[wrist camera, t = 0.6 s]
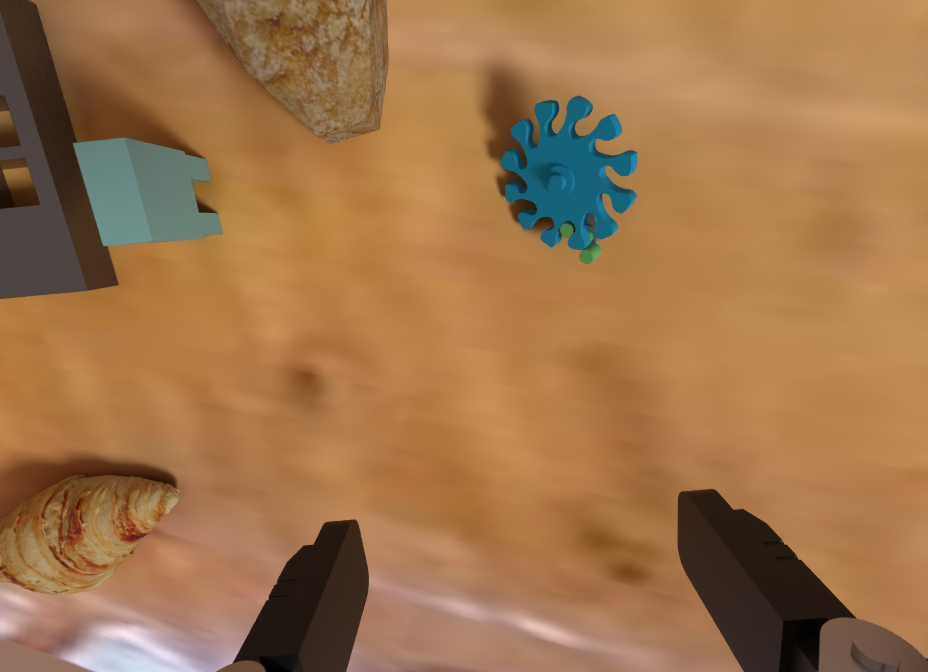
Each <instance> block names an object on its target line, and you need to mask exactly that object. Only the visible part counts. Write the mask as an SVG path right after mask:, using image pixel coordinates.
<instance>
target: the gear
mask: <svg viewBox="0 0 928 672" xmlns="http://www.w3.org/2000/svg"><path fill="white" fill-rule="evenodd" d="M592 109H593V105H592V104H591V102H589V101H588V100H587V99H585V98H583V97H581V96H576V97H573V98H572V99H570V101H569V102H568V105H567V115H566V119H565V123H564V125H563V127H562V128H561V130H560V131H559V132H558V134H555V133H554V132H553V130H552V126H551V125H552V121H553V120H554V118H555V117H556V116H557V114H558V112H559V104H558V101H555V100H548V101H543V102H540V103H537V104H536V105H535V114H536V117H537V119H538V122H539V127H540V135H539V142H538V145H535V144H534V142H533V140H532V135H533V123H532V121H531V120H530V119H526V120H523V121H520V122H518V123H517V124H515V125H514V126H513V127H512V128H511V134H512V136H513V137H514V139H516V140H517V141H518V142H519V143H520V144H521V146H522V147H523V149H524V151H525V154H526V158H527V166H525V165H524V164H523V162H522V158H521V155H520V153H519V151H518V150H516V149H510V150H508V151H506V152H505V154H504V156H503V158H502V162H501V165H502V167H503V168H504V169H506V170H511V171H514V172H516V173H517V174H518V175H520V176H521V177H522V179H523V180H524V181H525V182H526V184H527V190H526V189H524V188H523V186H522V185H521V184H520V183H519V182H517V181H514V182H511V183H509V184H507V185H505V196H506V200H507V201H509V202H513V201H515V200H518V199H526V200H529V201H531V202H533V203H534V204H535V205H536V207H537V212H536V211H534V210H531V209H527V210H526V211H524V212H522V213H520V214H519V215H518V219H519V221H520V223H521V225H522V227H523V228H524V229H529V228H531V227H532V226H534V225H535V224H536V223H537V221H538V220H539V219H540V218H542V217H550V218H551V219H552V220H553V221H554V227H550V228H549V229H547V230H545V231H544V232H543V233H542V234H541V237H540V238H541V240H542V241H543V242H544V243H545V244H547V245H548V246H550V247H553V246H555V245H556V244H557V243H559V242H560V240H561V234H562V235H563V236H564V237H566V238H569V237H570V238H569V240H568V245H569V247H570V248H572V249H576V250H583V251H581V252H580V254H579V257H580V260H581V261H582V262H583V263H585V264H589V263H591V262H592V261H593V260H595V259H596V258H597V257H598V256H599V255H600V254H601V248H600V246H599V245H597V244H595V243H597V242H598V241H599V240H600V239H604V238H606V237H609V236H610V235H612V234H613V233H615V232H616V231H617V230H618V225H617V223H616V222H615V221H614V220H613V219H612V218H611V217H610V216H609V215H608V213H607V212H606V210H605V208H604V204H603V200H602V194H603V193H606V194H608V195H609V196H610V198H611V201H612V206H613V208H614V210H615V211H616V212H618V213H621V214H622V213H623V212H624V211H626V210H627V209H628V208H630V207H631V205H632V204H633V203H634V201H635V199H636V197H637V195H636V193H635V192H634V191H632V190H630V189H624V188H621V187H618V186H617V185H615V184H614V183H613V182H612V181H611V180H610V179H609V178H608V177H607V175H606V173H605V168H606V165H608V166H611V167H612V168H613V169H614V170H615V172H616V173H617V174H619V175H620V176H628V175H630V174H631V173H633V172H634V171H635V169H636V166H637V152H635V151H632V150H629V151H626V152H624V153H622V154H619V155H606V154H603V153H600V152H598V151H597V150H596V148H595V141H596V139H601V140H605V141H609V140H612V139H614V138H616V137H617V136H619V135H620V134H621V133H622V127H621V124H620V122H619V120H618V118H617V117H616V115H615V114H612V115H609V116H607V117H605V118H603V119H601V120H600V122H599V123H598V125H597V127H596V128H595V129H594V130H593V131H592V132H591V133H590V134H589V135H586V136H579V135H577V133H576V132H575V124H576V122H577V121H578V120H580V119H583V118H585V117H587V116H588V115H590V113H591V111H592Z"/></svg>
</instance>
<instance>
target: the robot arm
mask: <svg viewBox="0 0 928 672" xmlns="http://www.w3.org/2000/svg"><path fill="white" fill-rule="evenodd" d="M678 552H679V556H680V560H681V563H682V566H683V568H684V571H685V573H686V574H687V576H688V578H689V580H690V581H691V583H692V585H693V586H694V588H695V590H696V591H697V593H698V595H699V596H700V598H701V600H702V602H703V603H704V605H705V607H706V608H707V610H708V612H709V613H710V615H711V617H712V618H713V620H714V622H715V624H716V625H717V627H718V629H719V630H720V632H721V634H722V635H723V637H724V639H725V640H726V642H727V644H728V646H729V647H730V649H731V651H732V652H733V654H734V656H735V657H736V659H737V661H738V662H739V664H740V666H741V668H742V669H743V671H744V672H928V659H926V658H925V657H924V656H923V655H922V654H921V653H920V652H919V651H918V650H917V649H915V648H914V647H913V646H912V645H911V644H909V643H908V642H907V641H905V640H904V639H902V638H901V637H899V636H898V635H896V634H894V633H893V632H891V631H889V630H887V629H885V628H883V627H881V626H878V625H876V624H873V623H870V622H867V621H864V620H860V619H857V618H856V617H855V616H854V615H853V614H852V613H851V612H850V611H849V610H848V609H847V608H846V607H845V606H844V605H843V604H842V603H841V602H840V600H839V599H838V598H837V597H836V596H835V595H834V594H833V593H832V592H831V591H830V590H829V589H828V588H827V587H826V586H825V585H824V584H823V583H822V581H821V580H820V579H819V578H818V577H817V576H816V575H815V574H814V573H813V572H812V571H811V570H810V569H809V568H808V567H807V566H806V565H805V564H804V562H803V561H802V560H798V558H797V555H796V554H795V553H794V552H793V551H792V550H791V549H790V548H789V547H788V546H787V545H784V543H783V540H782V539H781V538H780V537H779V536H778V535H777V534H776V533H775V532H774V531H773V530H772V529H771V528H770V527H769V526H768V525H767V523H765V522H763V521H762V520H760V519H759V518H757V517H755V516H754V515H752V514H750V513H749V512H747V511H745V510H744V509H738V510H733V509H732V508H731V507H730V505H729V504H728V503H727V502H726V501H725V500H724V499H723V497H722V496H721V495H720V494H719V493H718V492H717V491H716V490H714V489H706V490H694V491H683V492H680V493H679V496H678ZM368 587H369V573H368V566H367V561H366V557H365V552H364V547H363V543H362V538H361V533H360V529H359V525H358V522H357V521H356V520H355V519H354V520H343V521H332V522H326V523H324V525H323V526H322V528H321V530H320V532H319V535H318V537H317V539H316V541H315V543H314V545H305V546H303V547H302V548H301V549H300V550H299V551H298V552H297V553H296V554H295V555H294V556H293V557H292V558H291V559H290V560H289V561H288V562H287V563H286V565H285V567H284V569H283V571H282V573H281V575H280V576H279V578H278V580H277V584H276V585H275V586H274V588H273V589H272V591H271V593H270V595H269V600H267V601H266V602H265V604H264V606H263V608H262V610H261V612H260V614H259V615H258V617H257V619H256V621H255V623H254V625H253V627H252V628H251V630H250V632H249V634H248V636H247V638H246V640H245V641H244V643H243V645H242V647H241V649H240V651H239V653H238V654H237V656H236V658H235V660H234V662H233V663H232V664H230V665H227V666H225V667H223V668H222V669H220V670H218V671H217V672H346V670H347V667H348V663H349V660H350V656H351V652H352V649H353V645H354V642H355V638H356V635H357V631H358V627H359V624H360V620H361V617H362V613H363V610H364V606H365V602H366V599H367V594H368Z"/></svg>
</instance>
